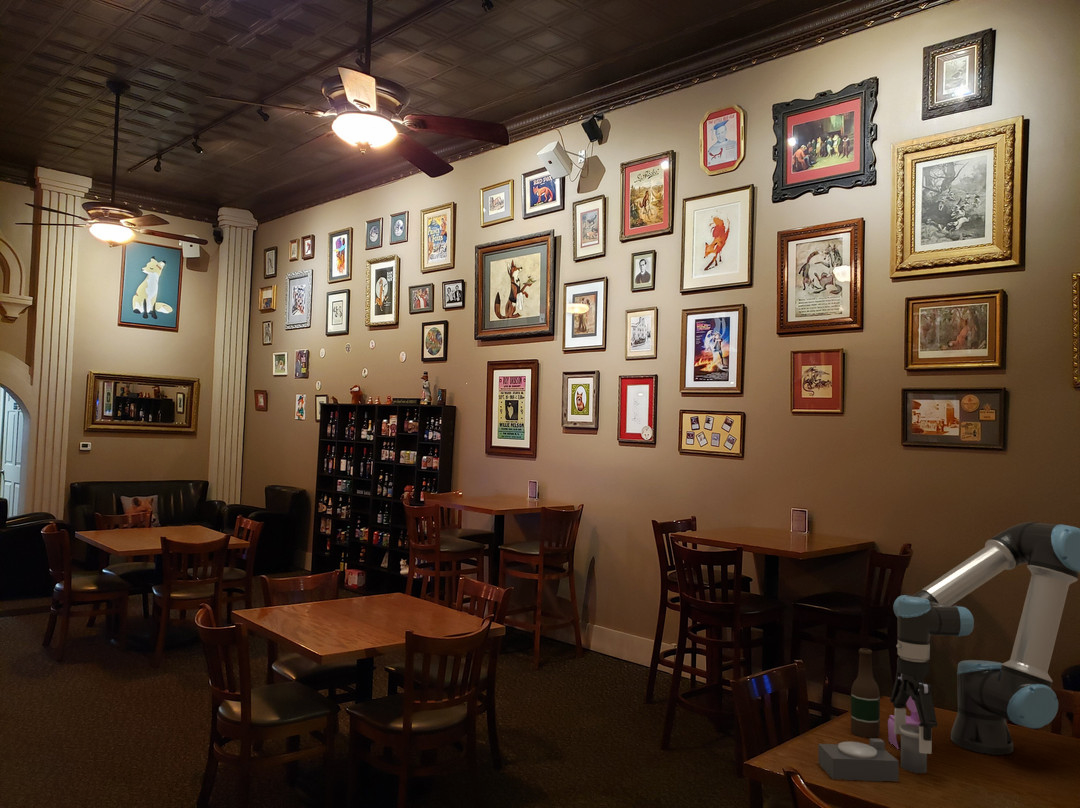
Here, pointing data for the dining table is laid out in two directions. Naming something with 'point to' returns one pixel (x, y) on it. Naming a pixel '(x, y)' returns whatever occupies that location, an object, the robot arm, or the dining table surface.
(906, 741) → the lens
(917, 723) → the toy chair
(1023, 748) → the dining table surface
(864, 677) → the beer bottle
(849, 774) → the camera body block
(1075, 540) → the robot arm
